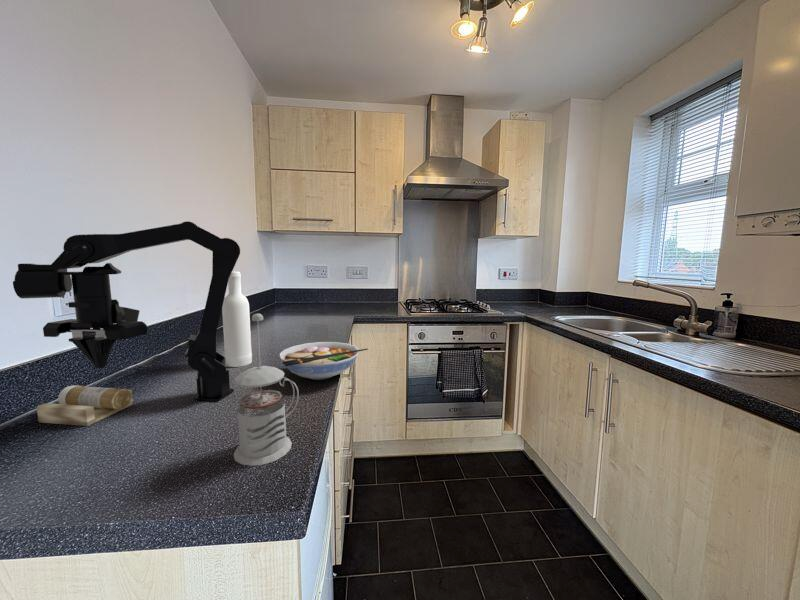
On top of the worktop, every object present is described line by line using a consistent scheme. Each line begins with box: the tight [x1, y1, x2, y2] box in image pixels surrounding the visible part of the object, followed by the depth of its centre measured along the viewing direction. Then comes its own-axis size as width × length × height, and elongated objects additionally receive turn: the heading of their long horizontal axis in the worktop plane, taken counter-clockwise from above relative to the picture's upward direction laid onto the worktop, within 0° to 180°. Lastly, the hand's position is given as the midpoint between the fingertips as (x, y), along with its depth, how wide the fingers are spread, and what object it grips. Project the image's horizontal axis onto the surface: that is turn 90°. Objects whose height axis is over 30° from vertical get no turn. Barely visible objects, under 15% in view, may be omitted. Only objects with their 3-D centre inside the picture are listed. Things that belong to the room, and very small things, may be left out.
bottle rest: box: [36, 389, 134, 427], centre depth 71 cm, size 12×10×4 cm
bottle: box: [221, 270, 253, 368], centre depth 104 cm, size 8×8×30 cm
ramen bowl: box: [278, 341, 369, 381], centre depth 95 cm, size 25×23×8 cm
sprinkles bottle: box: [57, 385, 131, 411], centre depth 72 cm, size 5×5×14 cm
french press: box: [233, 313, 300, 467], centre depth 58 cm, size 10×12×25 cm
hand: (101, 367), depth 69 cm, fingers closed
